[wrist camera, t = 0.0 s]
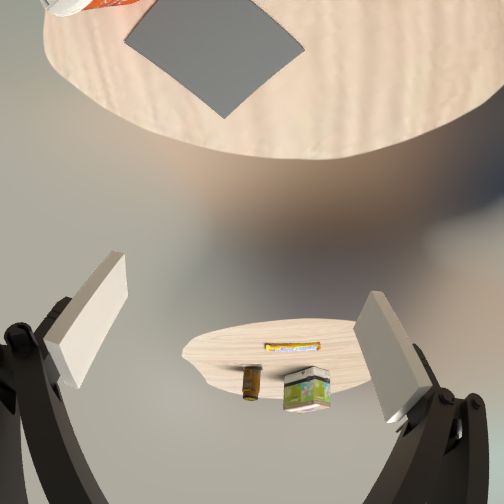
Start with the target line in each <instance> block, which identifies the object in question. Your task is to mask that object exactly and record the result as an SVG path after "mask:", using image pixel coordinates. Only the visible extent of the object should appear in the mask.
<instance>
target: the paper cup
mask: <svg viewBox="0 0 504 504" xmlns="http://www.w3.org/2000/svg"><path fill="white" fill-rule="evenodd" d="M41 1H42V2H41V4H42V5H43V7H44V8H45V9H46V10H47V12H49V13H51V14H52V15H55V16H59V17H65V16H70V15H73V14H75V13H77V12H79V11H82V10H88V9H94V8H102V7H109V6H118V5H127V4H132V3H135V2H137V1H139V0H41Z"/></svg>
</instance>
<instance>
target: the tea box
mask: <svg viewBox="0 0 504 504" xmlns="http://www.w3.org/2000/svg"><path fill="white" fill-rule="evenodd" d="M328 407H330V372H329V371H326V370H324V369H320V368H317V367H314V366H313V367H311V368H309V369H306V370H303V371H300V372H296V373H293V374H289V375H286V376H285V380H284V404H283V410H285V411H291V412H297V413H303V412H309V411H314V410H319V409H324V408H328Z"/></svg>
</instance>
